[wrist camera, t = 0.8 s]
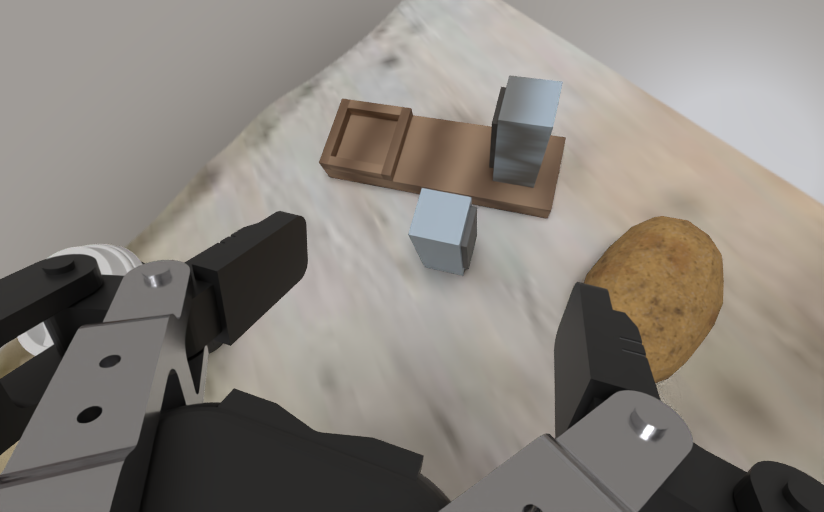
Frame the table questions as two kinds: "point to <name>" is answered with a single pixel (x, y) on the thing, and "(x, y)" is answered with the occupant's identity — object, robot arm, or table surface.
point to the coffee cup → (109, 263)
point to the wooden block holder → (456, 149)
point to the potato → (664, 287)
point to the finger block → (444, 230)
